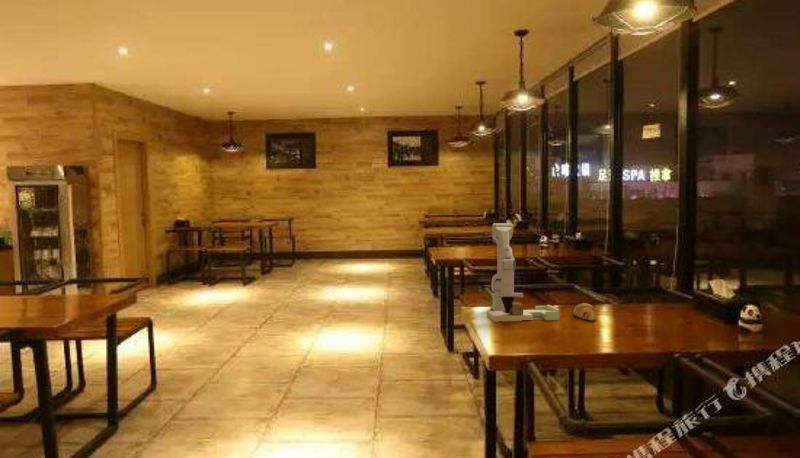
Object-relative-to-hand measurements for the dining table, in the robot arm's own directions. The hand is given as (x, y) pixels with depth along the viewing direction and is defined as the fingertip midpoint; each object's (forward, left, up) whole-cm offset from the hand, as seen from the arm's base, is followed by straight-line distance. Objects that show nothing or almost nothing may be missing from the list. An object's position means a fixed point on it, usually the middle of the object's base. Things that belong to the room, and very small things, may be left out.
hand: (507, 313), depth 275 cm
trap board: (-3, +8, -3) cm, 9 cm away
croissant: (-1, +38, -4) cm, 39 cm away
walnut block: (0, +4, -1) cm, 4 cm away
